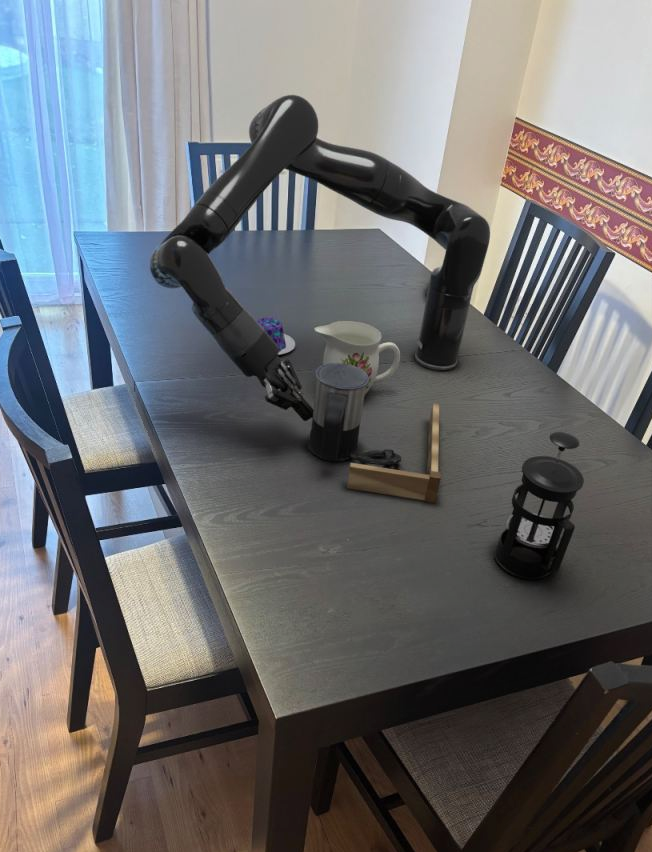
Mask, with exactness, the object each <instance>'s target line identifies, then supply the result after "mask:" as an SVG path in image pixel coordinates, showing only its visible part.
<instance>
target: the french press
mask: <svg viewBox="0 0 652 852" xmlns="http://www.w3.org/2000/svg"><path fill="white" fill-rule="evenodd" d="M549 440H550V441H551V443H552V444H554V445H555V446H557V447H558V449H557V450H558V453H557V457H553V456H548V455H547V456H546V455H537V456H532V457H528V458H527V459H526V460H525V461H524V462H523V463H522V465H521V473H522V476H521V484H519V485H518V486H517V487H516V488H515V489H514V491H513V495H512V498H511V504H512V505H511V506H512V507H513V508H512V513H511V515H510V516H509V517H508V518H507V520H506V529H504V530H503V531H502V532H501V533H500V536H499V539H498V542H497V545H496V546H495V548H494V550H493V558H494V559H493V560H494V561H495V563H496V564H497V566H498V567H499V569H501V571H503V572H504V573H506V574H507V575H509V576H511V577H513V578H516V579H519V580H523V581H529V582H530V581H531V582H534V581H539V580H541V581H542V580H544V579H546V578H547V577H549V576H550V575H551V574H552V573H554V572H558V571H559V570H560V569H561V568H560V567H561V565H562V562H563V560H564V557H565V555H566V552H567V549H568V547H569V544H570V542H571V539H572V537H573V534H574V531H575V528H576V525H575V524H574V523H573V522H572V521H571V518H572V515H573V512H574V509H575V507H574V506H575V505H574V502H573V500H572V499H574V498H575V497H576V496H577V493H578V492H579V491H580V490H581V489H582V488H583V486H584V482H585V480H584V479H585V478H584V477H583V474H582V472H581V471H580V470H579V469H578V468H577V467H575V466H574V465H573V464H571V463H569V462H568V461H565V460H563V459H561V456H562V454H563V453H562V452H564V451H565V450H566V449H567V450H572V449H573V450H574V449H576V448H578V447H580V440H579V439H578V438H577V437H576V436H575V435H573V434H570V433H568V432H565V431H554V432H552V433H550V434H549ZM528 493H530V494H531V495H532V496H534V497H536V498H538V499H541V500H542V501H541V504H540V506H539V509H538V511H537V512H536V513H535V512H531V511H529V510H527V509H525V507H524V505H525V502H526V500H527V495H528ZM516 496H517V497H516ZM546 501H547V502H551V503H553V502H554V503H557V504H556V507H555V509H554V512H553V515H552V517H551V518H550V517H546V516H544V515H542V512H543V511H542V510H543V508H544V506H545V502H546ZM567 508H568V511H569V513H568V514H567V515H565V512H566V510H567ZM564 515H565V516H564ZM517 545H518V546H524V547H527V548H529V549H530V548H531V549H533V550H534V551H536V552H537V553H538V554H540V556H541V557H542V560H541V562H532V561H531V562H530V561H525V560H522V559H520V558H518V557H516V556H514V555H512V554H511V553H512V550H513V547H514V546H517Z"/></svg>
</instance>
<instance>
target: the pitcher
mask: <svg viewBox="0 0 652 852" xmlns="http://www.w3.org/2000/svg"><path fill="white" fill-rule="evenodd" d="M313 330H314V331H315V333H317V334H319V335H320V336H321V337H322V338H323V340H324V343H325V348H324V352H323V357H322V365H325V364H329V363H343V364H349V365H352V366H355V367H358V368H360V369H361V370H363V371H364V372H365V373H366V374H367V375H368V377H369V382H368V383H367V385H366V389H365V395H366V394H367V393H368V392H369V390H370V389H371V387H372V386H373V385H374V384H378V383H381V382H384V381H386V380H388V379H390V378H391V377H392V376H393V375H394V374H395V373H396V372H397V370H398V368H399V365H400V361H401V352H400V349H399V347H398V346H397V344H395V343H394V342H391V341H389V342H383V343H381V341H382V336H383V335H382V333H381V331H380V330H379V329H377V328H376V327H375V326H373V325H370V324H367V323H364V322H361V321H354V320H339V321H334V322H331V323H329V324H326V325H320V326H319V325H318V326H316V327H314V329H313ZM385 350H390V351H392V353H393V362H392V364H391V366H390V367H389V368H388V369H387V370H386V371H384V372H383V373H381V374H378V371H379V367H380V366H379V365H380V353H381V352H383V351H385ZM377 374H378V375H377Z"/></svg>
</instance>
